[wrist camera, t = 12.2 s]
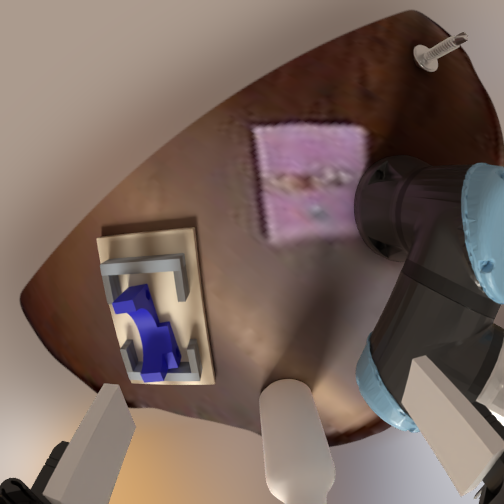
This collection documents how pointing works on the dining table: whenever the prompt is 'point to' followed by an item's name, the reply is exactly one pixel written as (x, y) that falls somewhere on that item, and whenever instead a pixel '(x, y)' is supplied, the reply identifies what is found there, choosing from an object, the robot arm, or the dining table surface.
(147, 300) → the cable clip
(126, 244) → the board
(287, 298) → the dining table surface
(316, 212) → the dining table surface
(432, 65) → the screw
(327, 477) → the alcohol
